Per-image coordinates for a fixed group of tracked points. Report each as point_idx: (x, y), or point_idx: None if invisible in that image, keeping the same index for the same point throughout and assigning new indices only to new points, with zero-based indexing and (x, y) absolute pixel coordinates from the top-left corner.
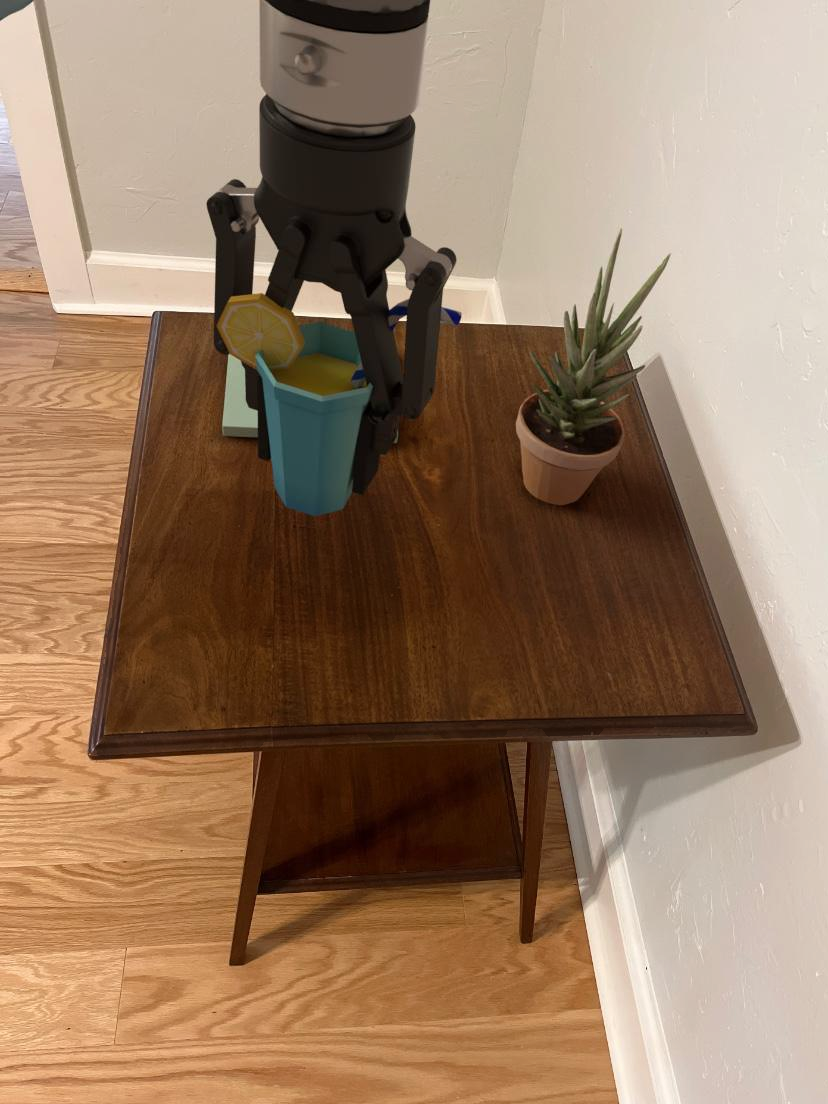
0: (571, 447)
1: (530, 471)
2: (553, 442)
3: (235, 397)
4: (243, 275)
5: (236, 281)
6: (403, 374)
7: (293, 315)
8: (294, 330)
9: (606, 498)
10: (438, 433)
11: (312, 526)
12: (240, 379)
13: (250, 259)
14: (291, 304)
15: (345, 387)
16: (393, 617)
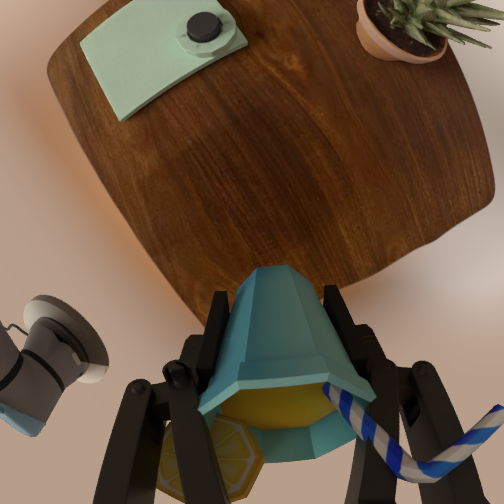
0: (415, 42)
1: (377, 51)
2: (400, 39)
3: (111, 89)
4: (143, 493)
5: (151, 500)
6: (408, 442)
7: (245, 492)
8: (254, 481)
9: None
10: (274, 19)
11: (232, 164)
12: (104, 71)
13: (133, 501)
14: (217, 471)
15: (316, 387)
16: (326, 217)
